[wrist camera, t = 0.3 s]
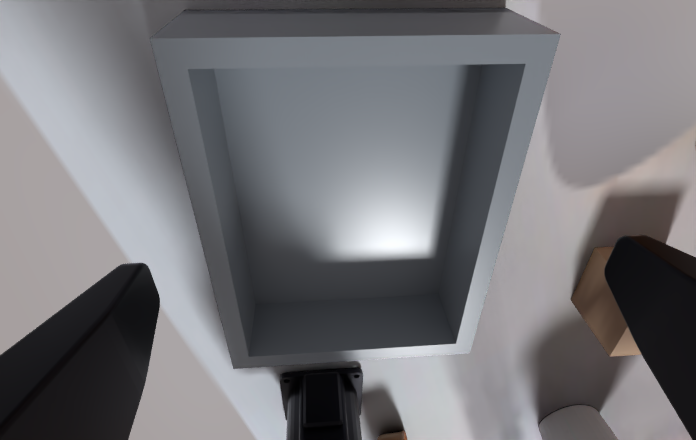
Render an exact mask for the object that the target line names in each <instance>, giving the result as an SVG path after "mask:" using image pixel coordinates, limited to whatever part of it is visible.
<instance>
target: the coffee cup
mask: <svg viewBox="0 0 696 440" xmlns="http://www.w3.org/2000/svg"><path fill="white" fill-rule="evenodd" d="M539 430H540V433H541V436H542V439H543V440H618V439H617V437H616V436H615V434H614V433H613V432H612V430H611V429H610V427H609V426H608V425H607V423H606V422H605V421H604V419H603V418H602V416H601V415H600V414H599V412H598V411H597V410H596V409H595V408H593V407H591V406H587V405H574V406H569V407H565V408H562V409H560V410H557V411H555V412H553V413H551V414H550V415H548V416H547V417H545V418H544V419H543V420H542V421H541V423H540V425H539Z"/></svg>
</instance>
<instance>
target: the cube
mask: <svg viewBox="0 0 696 440" xmlns="http://www.w3.org/2000/svg"><path fill="white" fill-rule="evenodd" d="M613 248H614V247H595V248H594V250H593V252H592V254H591V257H590V259H589V261H588V263H587V265H586V268H585V270H584V272H583V274H582V276H581V278H580V281H579V283H578V285H577V287H576V289H575V292H574V294H573V296H572V298H571V301H572V303H573V304H574V305H575V307H576V308H577V310H578V311H579V313H580V314H581V316H582V317H583V319H584V320H585V321H586V323H587V324H588V326H589V327H590V329H591V330H592V332H593V333H594V335H595V336H596V338H597V339H598V340H599V342H600V343H601V345H602V346H603V348H604V349H605V351H606V352H607V354H608V355H609V356H610V357H612V356H627V355H642V354H641V352H640V351H639V349H638V347H637V345H636V343H635V341H634V339H633V337H632V335H631V333H630V331H629V329H628V326H627V324H626V322H625V320H624V318H623V316H622V314H621V312H620V309H619V307H618V305H617V303H616V301H615V299H614V297H613V294H612V292H611V290H610V288H609V286H608V284H607V282H606V279H605V276H604V268H605V265H606V263H607V261H608V259H609V256H610V254H611V252H612V250H613Z"/></svg>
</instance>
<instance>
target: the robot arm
mask: <svg viewBox="0 0 696 440" xmlns="http://www.w3.org/2000/svg"><path fill="white" fill-rule="evenodd" d="M604 276H605V279H606V282H607V284H608V286H609V288H610V290H611V292H612V294H613V297H614V299H615V301H616V303H617V305H618V307H619V309H620V312H621V314H622V316H623V318H624V320H625V322H626V324H627V326H628V329H629V331H630V333H631V335H632V337H633V339H634V341H635V343H636V345H637V347H638V349H639V351H640V352H641V354H642V356H643V358H644V359H645V361H646V363H647V364H648V366H649V368H650V369H651V371H652V373H653V374H654V376H655V378H656V379H657V381H658V383H659V384H660V386H661V388H662V389H663V391H664V393H665V394H666V396H667V398H668V399H669V401H670V403H671V404H672V406H673V408H674V409H675V411H676V413H677V414H678V416H679V418H680V419H681V421H682V423H683V425H684V426H685V428H686V430H687V431H688V433H689V435H690V436H691V438H692V440H696V257H693V256H691V255H689V254H687V253H684V252H682V251H680V250H678V249H675V248H673V247H671V246H668V245H666V244H664V243H662V242H659V241H657V240H655V239H653V238H650V237H648V236H645V235H627V236H622V237H620V238H619V239H618V240H617V242H616V244H615V246H614V248H613V250H612V252H611V254H610V256H609V259H608V261H607V263H606V265H605V268H604ZM159 307H160V298H159V294H158V291H157V288H156V286H155V283H154V280H153V278H152V275H151V272H150V270H149V268H148V266H147V265H146V264H144V263H129V264H122V265H120V266H118V267H117V268H116V269H114V270H113V271H111V272H110V273H109V274H107V275H106V276H105V277H103V278H102V279H101V280H100V281H98V282H97V283H95V284H94V285H93V286H91V287H90V288H89V289H88V290H86V291H85V292H84V293H82V294H81V295H80V296H78V297H77V298H76V299H74V300H73V301H72V302H70V303H69V304H68V305H66V306H65V307H64V308H62V309H61V310H60V311H58V312H57V313H56V314H54V315H53V316H52V317H51V318H49V319H48V320H46V321H45V322H44V323H42V324H41V325H40V326H39V327H37V328H36V329H35V330H33V331H32V332H31V333H29V334H28V335H26V336H25V337H24V338H23V339H21V340H20V341H19V342H17V343H16V344H15V345H13V346H12V347H11V348H9V349H8V350H7V351H5V352H4V353H3V354H1V355H0V440H128V438H129V435H130V432H131V428H132V425H133V422H134V419H135V415H136V412H137V409H138V406H139V402H140V399H141V396H142V392H143V389H144V385H145V381H146V376H147V372H148V366H149V361H150V356H151V350H152V344H153V339H154V334H155V329H156V323H157V318H158V312H159ZM362 383H363V373H362V370H361V369H359V368H352V369H337V370H322V371H307V372H292V373H283V374H282V375H281V376H280V384H281V391H282V398H283V404H284V411H285V418H286V420H287V440H362V437H361V428H360V418H359V415H361V404H362Z"/></svg>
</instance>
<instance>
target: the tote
mask: <svg viewBox="0 0 696 440" xmlns="http://www.w3.org/2000/svg"><path fill="white" fill-rule="evenodd" d="M560 35H561V34H559V33H558V32H555V31H553V30H551V29H549V28H547V27H545V26H543V25H541V24H539V23H537V22H534V21H532V20H530V19H528V18H526V17H524V16H522V15H520V14H518V13H516V12H513V11H511V10H509V9H507V8H429V9H281V10H184V11H183V12H182V13H181V14H180V15H178V16H177V17H176V18H175V19H173V20H172V21H171V22H170V23H168V24H167V25H166V26H165V27H164V28H162V29H161V30H160V31H159V32H157V33H156V34H155V35H154V36H152V37H151V38H150V42H151V45H152V49H153V53H154V57H155V61H156V65H157V69H158V73H159V77H160V81H161V85H162V89H163V93H164V97H165V101H166V105H167V109H168V113H169V116H170V120H171V124H172V128H173V132H174V136H175V140H176V144H177V148H178V152H179V156H180V160H181V164H182V168H183V172H184V176H185V180H186V183H187V187H188V191H189V195H190V199H191V203H192V207H193V211H194V215H195V219H196V223H197V227H198V231H199V235H200V239H201V243H202V247H203V250H204V254H205V258H206V262H207V266H208V270H209V274H210V278H211V282H212V286H213V290H214V294H215V298H216V302H217V306H218V310H219V314H220V317H221V321H222V325H223V329H224V333H225V337H226V341H227V345H228V349H229V353H230V357H231V361H232V365H233V369H237V368H252V367H267V366H283V365H298V364H313V363H329V362H344V361H359V360H375V359H390V358H405V357H420V356H436V355H451V354H466V353H470V350H471V347H472V343H473V340H474V336H475V333H476V329H477V326H478V322H479V319H480V315H481V312H482V308H483V305H484V301H485V298H486V294H487V291H488V287H489V284H490V280H491V277H492V273H493V270H494V266H495V263H496V259H497V256H498V252H499V249H500V245H501V242H502V238H503V235H504V231H505V228H506V224H507V221H508V217H509V214H510V210H511V207H512V203H513V200H514V196H515V193H516V189H517V185H518V182H519V178H520V175H521V171H522V168H523V164H524V161H525V157H526V154H527V150H528V147H529V143H530V140H531V136H532V133H533V129H534V126H535V122H536V119H537V115H538V112H539V108H540V105H541V101H542V98H543V94H544V91H545V87H546V84H547V80H548V77H549V73H550V70H551V66H552V63H553V59H554V56H555V52H556V48H557V45H558V41H559V38H560Z"/></svg>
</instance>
